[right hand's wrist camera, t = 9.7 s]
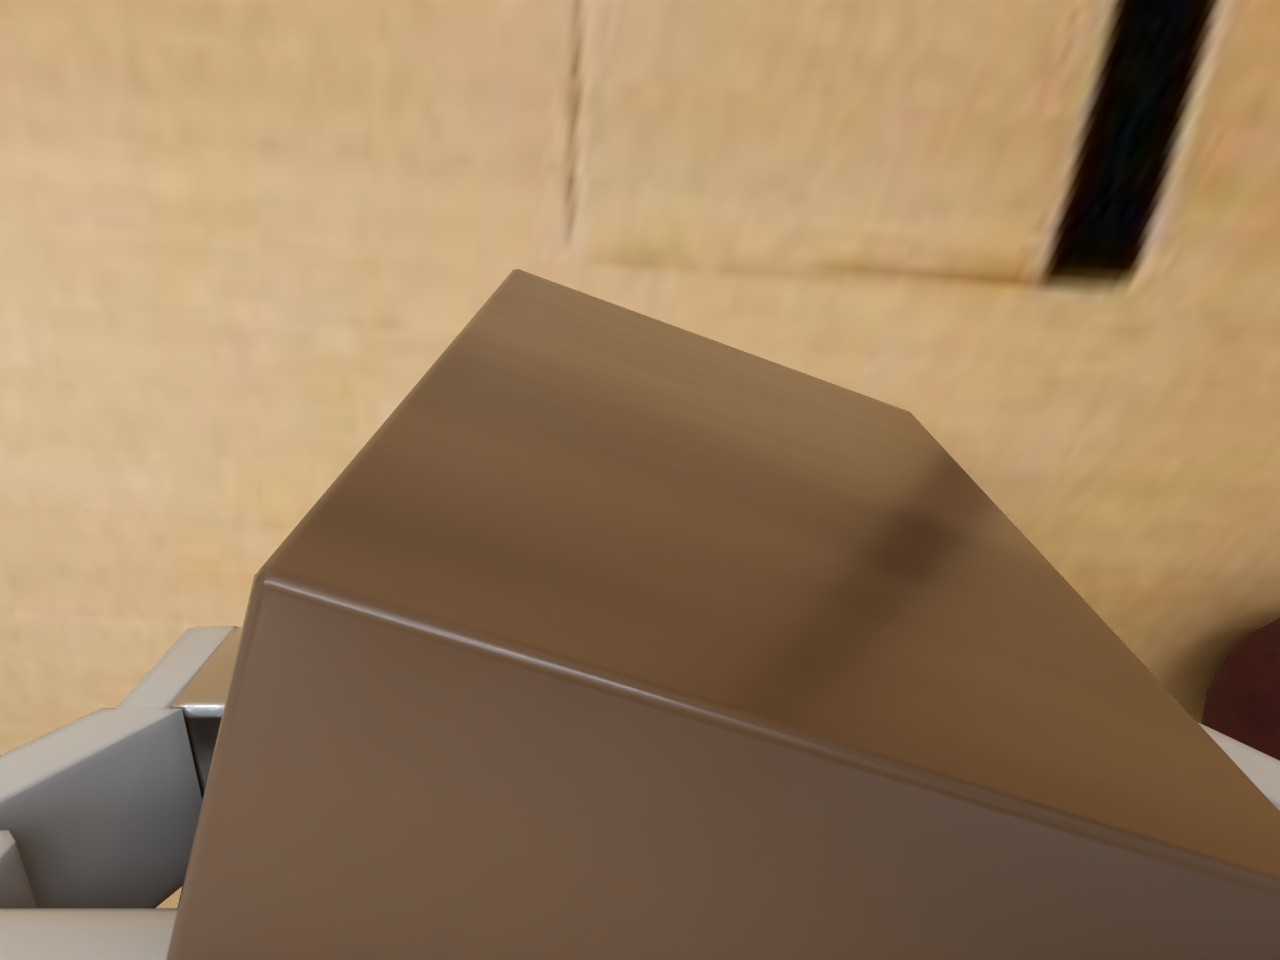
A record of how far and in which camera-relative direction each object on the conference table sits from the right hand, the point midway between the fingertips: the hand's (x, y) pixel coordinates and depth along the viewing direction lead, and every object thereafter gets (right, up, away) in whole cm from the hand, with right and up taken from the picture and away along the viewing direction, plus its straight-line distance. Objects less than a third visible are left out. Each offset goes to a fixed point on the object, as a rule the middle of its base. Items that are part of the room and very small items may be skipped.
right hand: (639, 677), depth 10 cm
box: (-3, -6, +6) cm, 8 cm away
